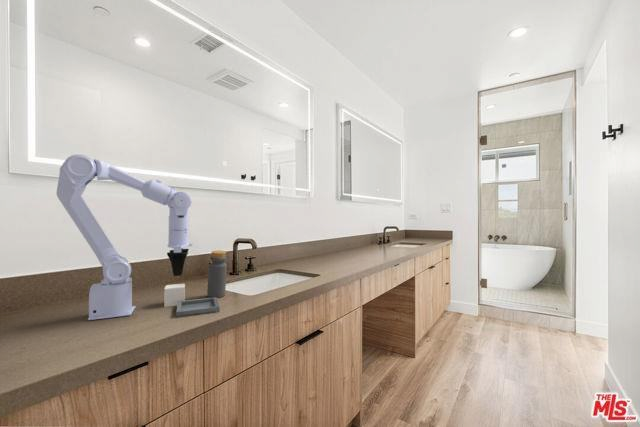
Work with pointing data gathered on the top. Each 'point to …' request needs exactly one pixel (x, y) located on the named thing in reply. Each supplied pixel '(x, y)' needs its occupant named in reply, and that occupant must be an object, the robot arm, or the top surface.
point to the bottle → (217, 275)
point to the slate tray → (197, 307)
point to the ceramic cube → (174, 294)
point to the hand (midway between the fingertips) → (178, 273)
